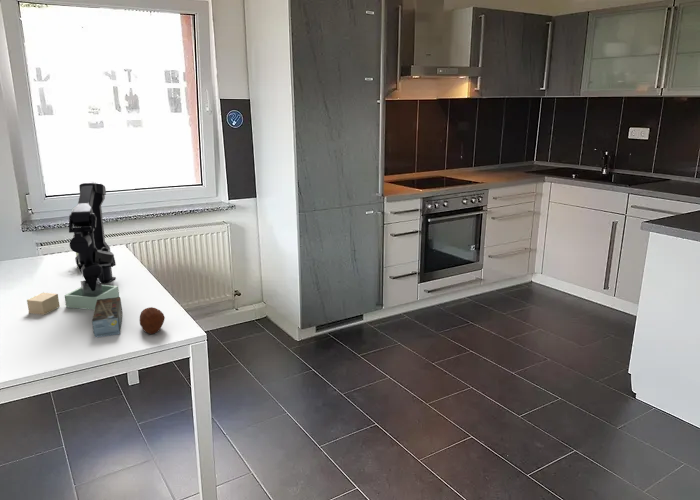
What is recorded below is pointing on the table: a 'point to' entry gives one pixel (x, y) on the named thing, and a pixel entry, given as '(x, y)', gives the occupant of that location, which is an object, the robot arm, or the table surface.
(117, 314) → the beverage carton
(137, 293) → the table surface
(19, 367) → the table surface
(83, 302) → the tote
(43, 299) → the tan rectangular block
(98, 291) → the tin
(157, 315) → the potato
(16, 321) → the table surface
